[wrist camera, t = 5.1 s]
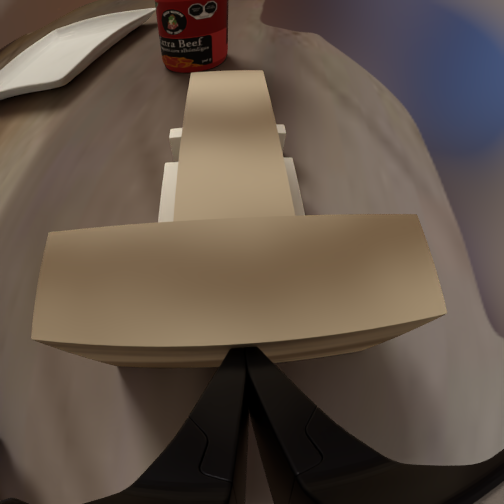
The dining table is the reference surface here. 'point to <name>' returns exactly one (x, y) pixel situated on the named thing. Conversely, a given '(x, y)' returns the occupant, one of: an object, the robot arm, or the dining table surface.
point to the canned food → (192, 33)
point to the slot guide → (171, 170)
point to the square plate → (66, 52)
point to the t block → (234, 258)
